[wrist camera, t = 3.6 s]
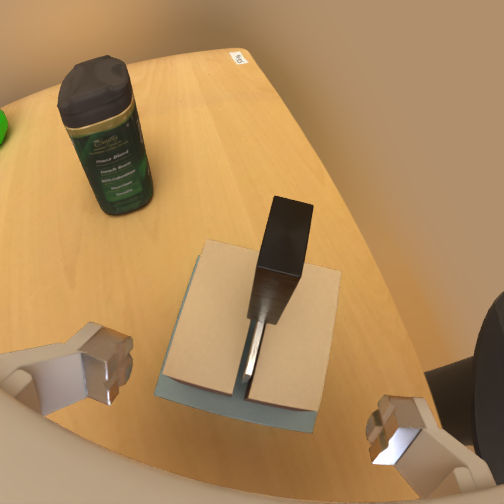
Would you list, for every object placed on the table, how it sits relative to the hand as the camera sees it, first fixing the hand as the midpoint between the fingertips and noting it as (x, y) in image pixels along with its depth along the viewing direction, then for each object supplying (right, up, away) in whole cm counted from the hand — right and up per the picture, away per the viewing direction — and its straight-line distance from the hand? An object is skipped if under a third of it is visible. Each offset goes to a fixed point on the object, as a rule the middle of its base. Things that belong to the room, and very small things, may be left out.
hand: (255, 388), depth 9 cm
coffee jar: (-17, +13, +31) cm, 38 cm away
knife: (0, -1, +15) cm, 15 cm away
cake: (0, -5, +23) cm, 24 cm away
